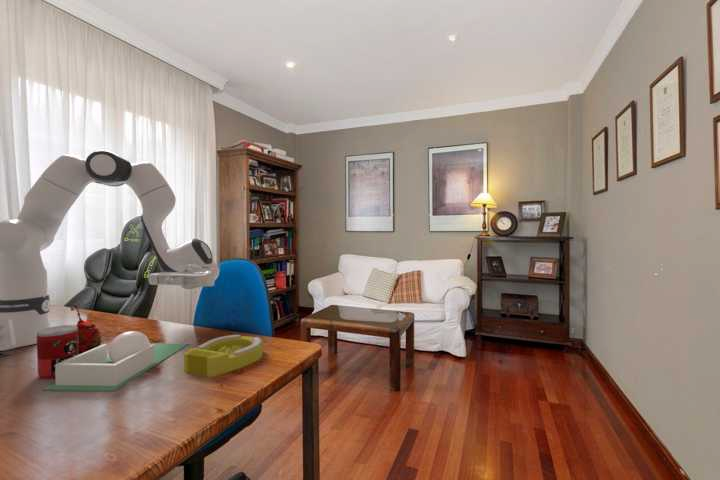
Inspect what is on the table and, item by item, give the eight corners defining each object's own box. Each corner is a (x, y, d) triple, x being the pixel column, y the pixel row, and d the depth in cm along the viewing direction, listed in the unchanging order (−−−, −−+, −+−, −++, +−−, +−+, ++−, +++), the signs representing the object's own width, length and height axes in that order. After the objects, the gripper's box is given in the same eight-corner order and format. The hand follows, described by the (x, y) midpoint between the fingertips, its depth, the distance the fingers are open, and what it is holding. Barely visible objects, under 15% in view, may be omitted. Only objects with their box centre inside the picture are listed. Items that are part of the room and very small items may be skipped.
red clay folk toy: (92, 355, 97) (91, 302, 97) (63, 357, 96) (62, 304, 95) (105, 346, 105) (104, 297, 104) (78, 348, 103) (77, 298, 103)
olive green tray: (172, 371, 87) (172, 351, 87) (229, 345, 106) (229, 329, 106) (223, 381, 81) (223, 360, 81) (274, 351, 101) (274, 335, 101)
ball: (129, 355, 95) (103, 374, 86) (122, 325, 93) (95, 342, 85) (160, 354, 94) (137, 373, 86) (153, 324, 93) (129, 340, 84)
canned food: (55, 380, 81) (54, 334, 80) (28, 378, 82) (27, 332, 82) (87, 368, 88) (86, 325, 88) (62, 365, 90) (61, 324, 89)
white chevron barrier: (103, 362, 92) (103, 344, 92) (154, 363, 91) (154, 344, 91) (55, 386, 78) (55, 364, 78) (115, 387, 77) (115, 365, 77)
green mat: (138, 344, 107) (138, 343, 107) (188, 344, 106) (188, 343, 106) (43, 390, 76) (43, 388, 76) (113, 391, 75) (113, 390, 75)
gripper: (163, 267, 123) (136, 271, 109) (218, 268, 122) (199, 272, 109) (163, 284, 123) (136, 291, 109) (218, 285, 123) (199, 292, 109)
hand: (168, 282), depth 109 cm, fingers closed
